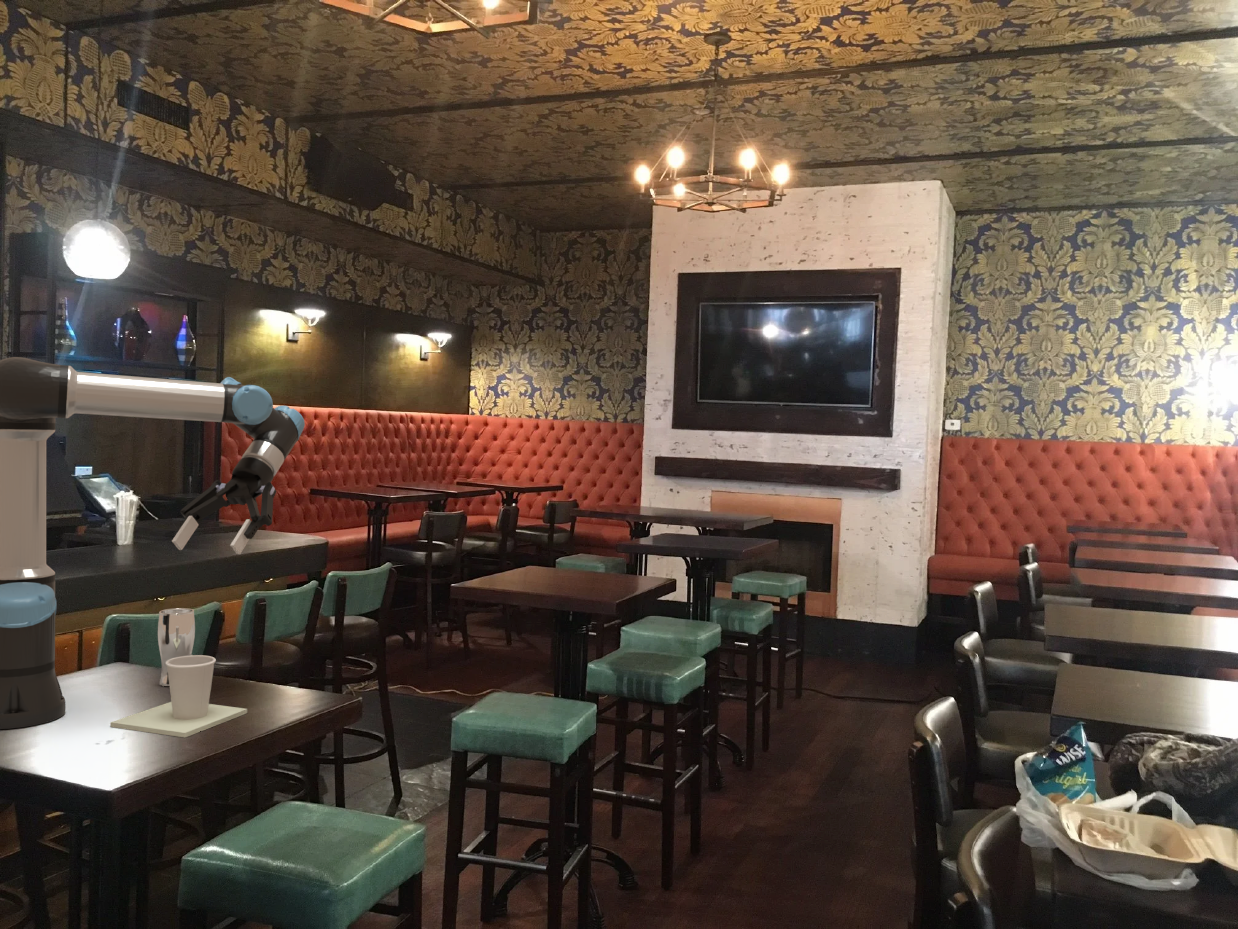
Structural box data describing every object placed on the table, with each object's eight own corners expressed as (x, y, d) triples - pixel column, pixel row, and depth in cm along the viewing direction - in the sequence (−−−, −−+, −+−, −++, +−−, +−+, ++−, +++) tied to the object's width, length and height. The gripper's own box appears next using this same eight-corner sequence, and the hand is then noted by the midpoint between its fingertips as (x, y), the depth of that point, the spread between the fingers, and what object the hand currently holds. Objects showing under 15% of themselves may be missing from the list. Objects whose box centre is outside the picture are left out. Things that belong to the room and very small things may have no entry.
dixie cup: (196, 706, 185) (196, 653, 185) (225, 713, 180) (225, 659, 180) (154, 716, 178) (155, 661, 177) (184, 724, 173) (184, 667, 173)
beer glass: (180, 689, 199) (181, 615, 199) (149, 686, 201) (150, 612, 200) (201, 680, 206) (202, 609, 206) (171, 678, 208) (172, 607, 207)
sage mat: (110, 726, 174) (110, 722, 174) (176, 703, 189) (176, 699, 189) (185, 737, 169) (185, 733, 169) (247, 713, 184) (247, 708, 184)
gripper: (317, 482, 203) (269, 564, 189) (216, 477, 211) (163, 555, 197) (301, 457, 198) (251, 538, 184) (198, 453, 206) (143, 531, 192)
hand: (205, 547), depth 190 cm, fingers open, 13 cm apart
